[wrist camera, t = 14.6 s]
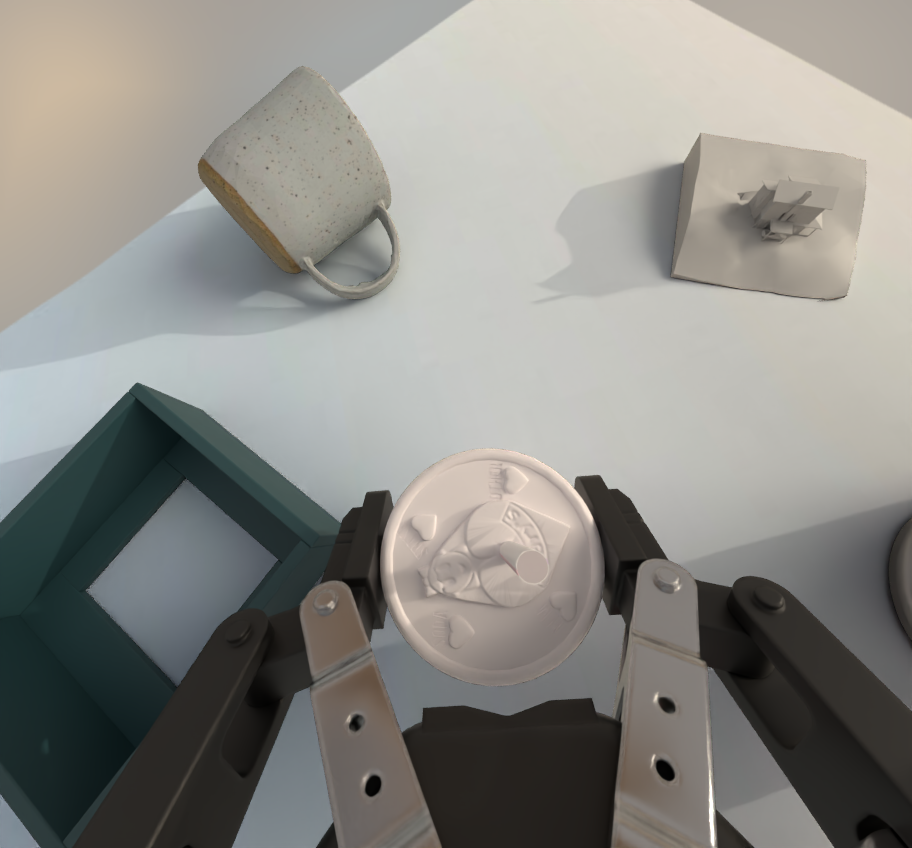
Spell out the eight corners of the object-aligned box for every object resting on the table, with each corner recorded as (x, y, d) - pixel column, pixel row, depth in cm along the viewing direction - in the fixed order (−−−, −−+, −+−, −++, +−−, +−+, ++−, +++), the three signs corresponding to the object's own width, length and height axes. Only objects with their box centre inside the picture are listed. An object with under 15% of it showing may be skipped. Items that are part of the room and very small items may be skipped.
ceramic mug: (243, 238, 26) (150, 124, 18) (333, 168, 27) (280, 34, 20) (342, 335, 24) (282, 250, 16) (435, 254, 25) (420, 140, 17)
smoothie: (564, 583, 19) (783, 719, 6) (446, 629, 19) (373, 893, 5) (515, 465, 21) (593, 351, 7) (406, 506, 20) (275, 467, 7)
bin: (201, 409, 23) (136, 381, 18) (353, 533, 20) (320, 535, 16) (11, 616, 20) (-117, 641, 16) (160, 787, 18) (57, 872, 13)
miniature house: (676, 308, 23) (715, 266, 19) (648, 163, 26) (676, 103, 22) (884, 298, 22) (965, 253, 19) (830, 152, 25) (891, 88, 21)
